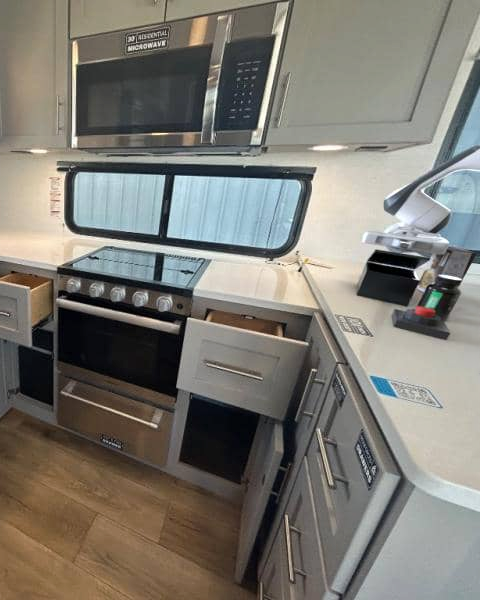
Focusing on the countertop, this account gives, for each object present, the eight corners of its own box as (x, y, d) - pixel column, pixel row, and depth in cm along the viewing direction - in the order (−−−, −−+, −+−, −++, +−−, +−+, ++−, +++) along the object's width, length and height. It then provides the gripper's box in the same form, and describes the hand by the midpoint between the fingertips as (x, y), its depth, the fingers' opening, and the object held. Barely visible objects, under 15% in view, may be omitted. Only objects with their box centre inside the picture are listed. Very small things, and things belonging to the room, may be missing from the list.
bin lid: (429, 260, 96) (430, 257, 96) (374, 251, 103) (375, 249, 103) (414, 269, 109) (415, 267, 109) (366, 261, 116) (367, 259, 116)
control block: (439, 327, 89) (446, 314, 87) (446, 340, 82) (454, 326, 80) (391, 315, 94) (397, 303, 93) (393, 327, 87) (400, 313, 86)
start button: (431, 315, 87) (434, 309, 86) (433, 319, 84) (436, 313, 84) (413, 310, 89) (416, 305, 88) (414, 314, 86) (417, 308, 86)
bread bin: (407, 307, 102) (420, 280, 98) (356, 295, 109) (366, 270, 105) (402, 294, 113) (414, 269, 109) (357, 284, 120) (366, 261, 117)
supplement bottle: (427, 320, 93) (448, 280, 88) (407, 310, 99) (426, 272, 95) (453, 322, 92) (475, 282, 88) (432, 312, 99) (452, 274, 94)
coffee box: (453, 299, 110) (478, 253, 104) (429, 296, 112) (452, 250, 106) (437, 291, 118) (459, 247, 112) (414, 287, 120) (436, 244, 114)
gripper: (365, 225, 116) (365, 229, 106) (447, 235, 104) (456, 241, 94) (358, 242, 118) (358, 248, 108) (437, 254, 107) (445, 262, 97)
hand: (404, 245), depth 101 cm, fingers closed
